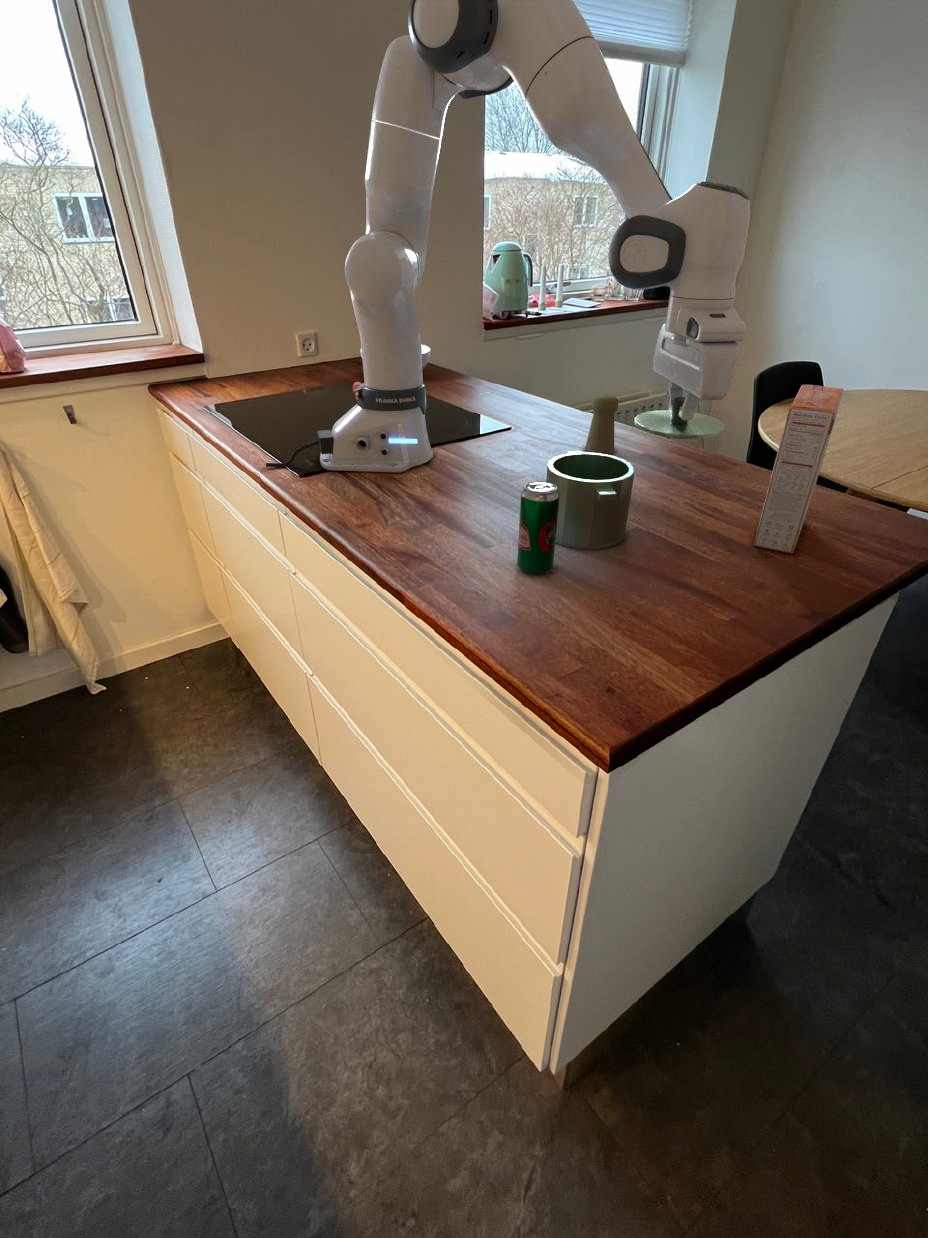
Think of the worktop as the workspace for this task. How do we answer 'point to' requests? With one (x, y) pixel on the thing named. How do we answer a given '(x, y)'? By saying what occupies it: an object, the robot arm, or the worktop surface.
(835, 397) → the cracker box
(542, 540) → the soda can
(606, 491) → the pot
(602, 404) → the beige pestle
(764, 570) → the worktop surface
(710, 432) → the lid
